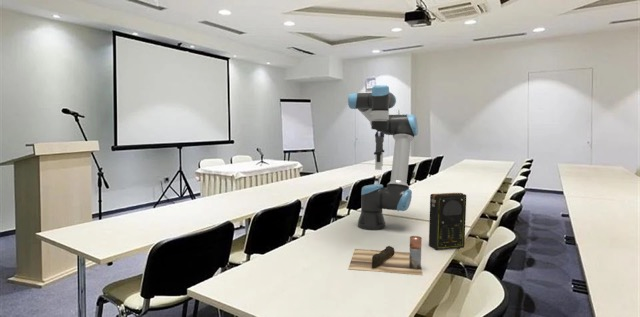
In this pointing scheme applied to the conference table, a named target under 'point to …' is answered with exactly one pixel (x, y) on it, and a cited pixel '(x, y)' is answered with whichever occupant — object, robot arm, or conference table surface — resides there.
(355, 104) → the robot arm
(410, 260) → the copper and grey cylinder
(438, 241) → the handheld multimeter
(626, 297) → the conference table surface
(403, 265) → the plywood sheet
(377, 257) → the hand tool
